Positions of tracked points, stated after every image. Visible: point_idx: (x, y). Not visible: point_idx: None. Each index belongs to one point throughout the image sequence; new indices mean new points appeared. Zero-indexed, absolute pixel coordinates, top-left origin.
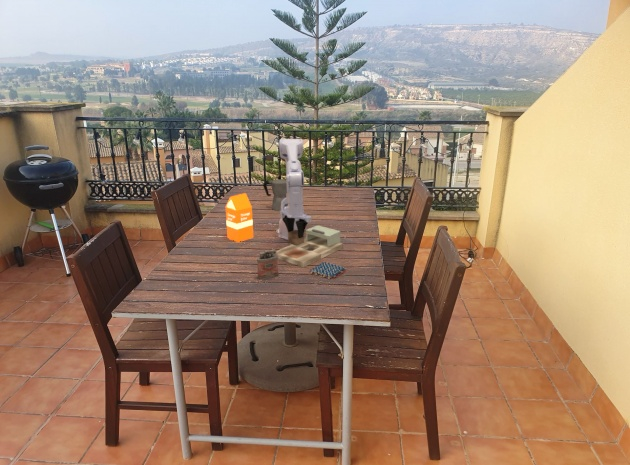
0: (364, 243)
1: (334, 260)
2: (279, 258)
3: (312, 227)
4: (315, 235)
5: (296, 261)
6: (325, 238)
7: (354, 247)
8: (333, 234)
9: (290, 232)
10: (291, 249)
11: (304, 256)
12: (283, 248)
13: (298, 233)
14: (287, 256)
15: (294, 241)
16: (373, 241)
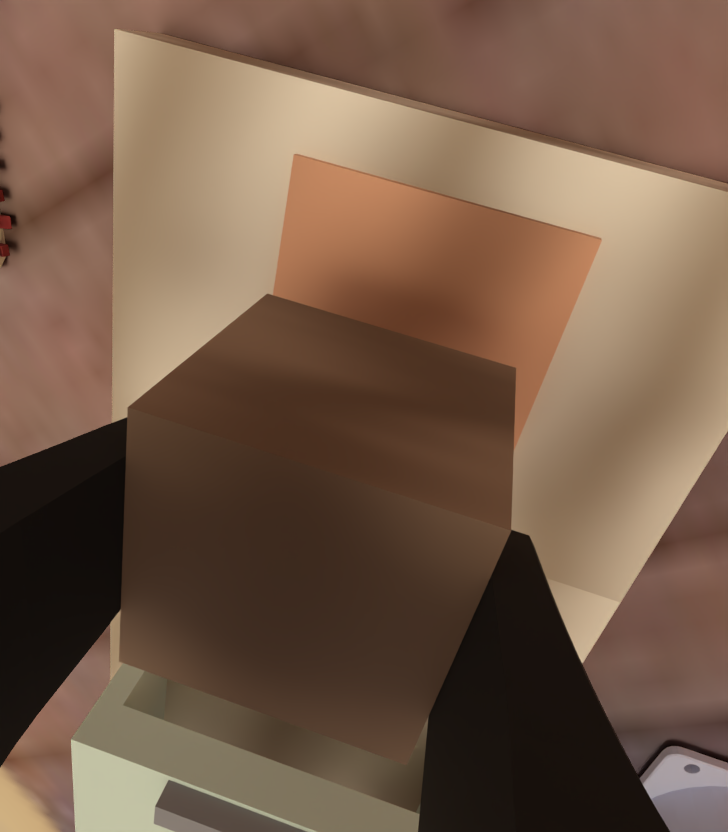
0: (61, 768)
1: (11, 410)
2: (662, 168)
3: None
4: (306, 780)
5: (268, 69)
6: (148, 718)
7: (69, 701)
8: (74, 790)
9: (436, 560)
10: (546, 460)
11: (239, 284)
12: (694, 460)
13: (64, 466)
14: (487, 163)
15: (308, 346)
16: (37, 800)
